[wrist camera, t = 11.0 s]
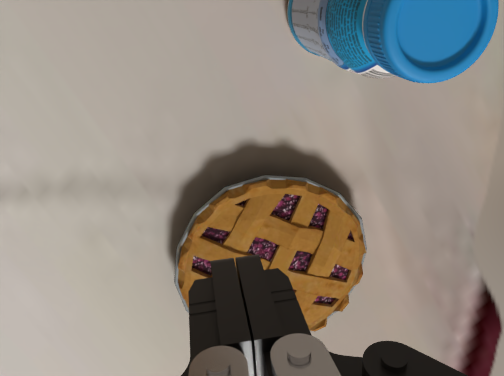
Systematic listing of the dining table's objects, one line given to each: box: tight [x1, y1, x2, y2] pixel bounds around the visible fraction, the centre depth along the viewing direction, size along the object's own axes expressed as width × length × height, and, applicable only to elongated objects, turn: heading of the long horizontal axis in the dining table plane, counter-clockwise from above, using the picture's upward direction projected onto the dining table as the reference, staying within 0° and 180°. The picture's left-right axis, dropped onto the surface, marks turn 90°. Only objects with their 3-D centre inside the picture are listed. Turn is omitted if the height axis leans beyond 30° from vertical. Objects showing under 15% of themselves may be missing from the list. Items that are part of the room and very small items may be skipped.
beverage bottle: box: [287, 0, 498, 83], centre depth 32 cm, size 8×8×20 cm
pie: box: [174, 175, 367, 331], centre depth 49 cm, size 22×22×5 cm
